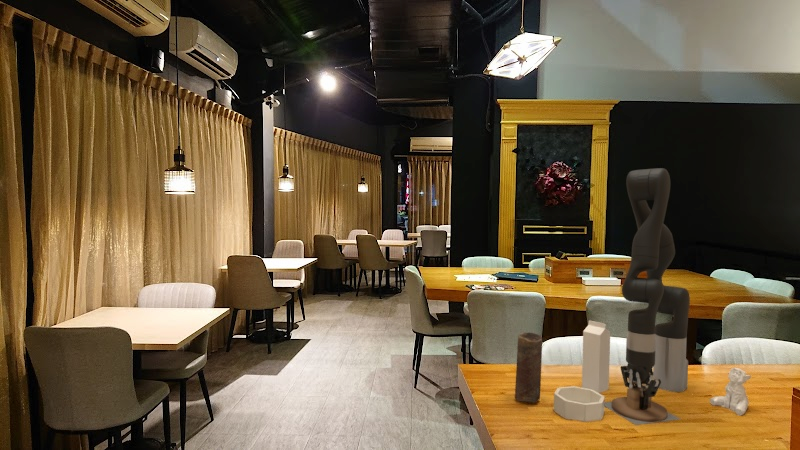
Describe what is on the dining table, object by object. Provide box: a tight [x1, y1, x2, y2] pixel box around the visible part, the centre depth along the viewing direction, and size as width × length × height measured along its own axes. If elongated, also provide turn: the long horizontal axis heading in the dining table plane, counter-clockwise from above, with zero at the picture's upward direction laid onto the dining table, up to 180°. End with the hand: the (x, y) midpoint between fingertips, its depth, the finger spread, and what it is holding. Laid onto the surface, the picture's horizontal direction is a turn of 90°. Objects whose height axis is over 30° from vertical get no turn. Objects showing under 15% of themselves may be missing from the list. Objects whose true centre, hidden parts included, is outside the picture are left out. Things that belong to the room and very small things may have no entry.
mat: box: [604, 401, 681, 426], centre depth 140 cm, size 15×15×1 cm
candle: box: [514, 331, 543, 404], centre depth 147 cm, size 8×7×20 cm
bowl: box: [553, 385, 606, 422], centre depth 139 cm, size 13×13×5 cm
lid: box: [611, 388, 668, 423], centre depth 140 cm, size 14×14×6 cm
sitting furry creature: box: [709, 367, 752, 416], centre depth 144 cm, size 10×9×12 cm
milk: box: [581, 320, 611, 394], centre depth 156 cm, size 6×6×22 cm
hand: (638, 406), depth 140 cm, fingers closed on lid, 3 cm apart
